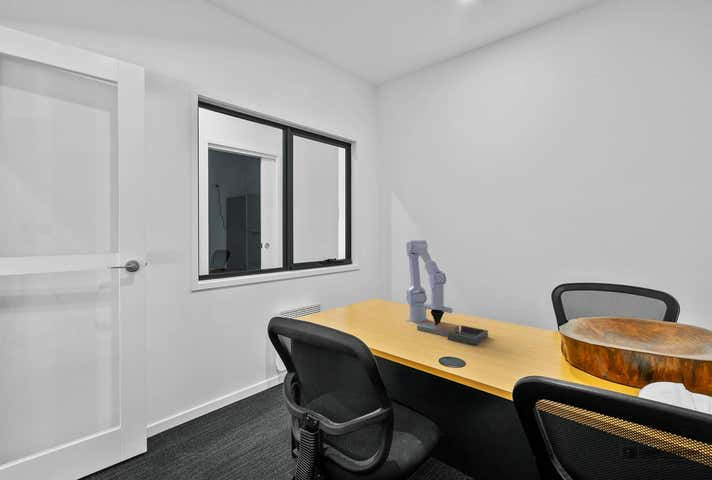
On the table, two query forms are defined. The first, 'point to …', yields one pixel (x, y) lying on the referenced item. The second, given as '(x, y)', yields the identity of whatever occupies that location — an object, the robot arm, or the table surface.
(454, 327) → the tile front
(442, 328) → the tile back
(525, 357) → the table surface
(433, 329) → the slate plate
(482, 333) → the box
